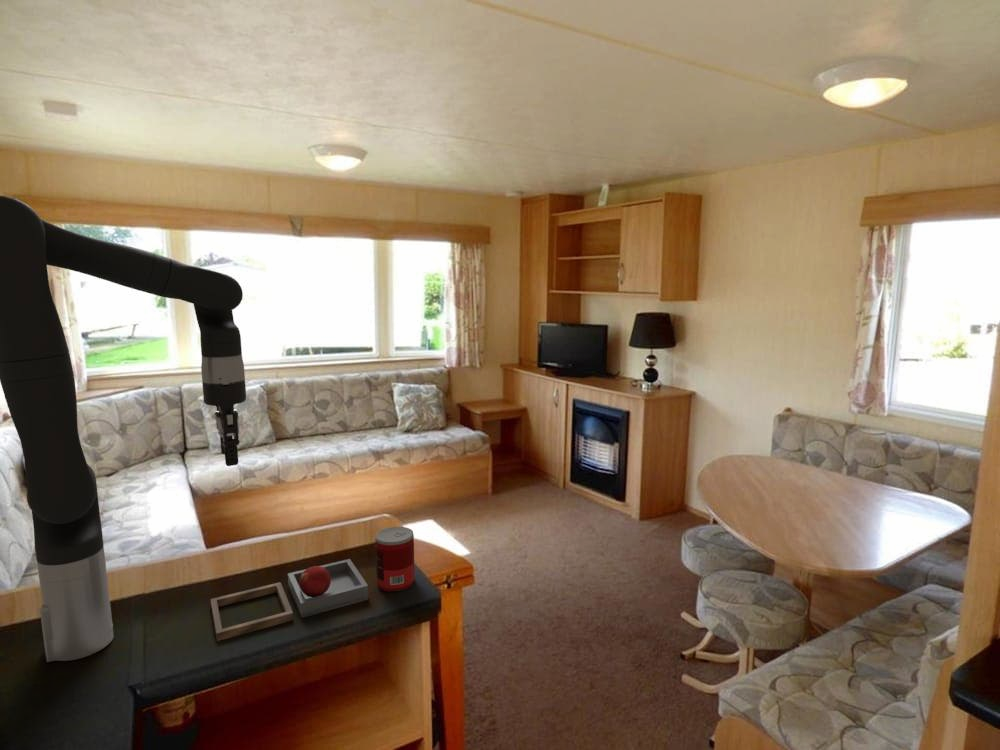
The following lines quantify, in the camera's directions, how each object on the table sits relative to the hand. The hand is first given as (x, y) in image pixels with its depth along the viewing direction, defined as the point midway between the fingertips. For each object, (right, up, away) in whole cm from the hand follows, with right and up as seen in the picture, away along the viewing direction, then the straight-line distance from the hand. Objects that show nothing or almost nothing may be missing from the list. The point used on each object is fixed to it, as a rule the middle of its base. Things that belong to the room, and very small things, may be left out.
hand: (229, 459), depth 116 cm
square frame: (+6, -29, -4) cm, 30 cm away
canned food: (+32, -28, +8) cm, 43 cm away
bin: (+18, -28, +4) cm, 34 cm away
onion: (+18, -26, +3) cm, 32 cm away
